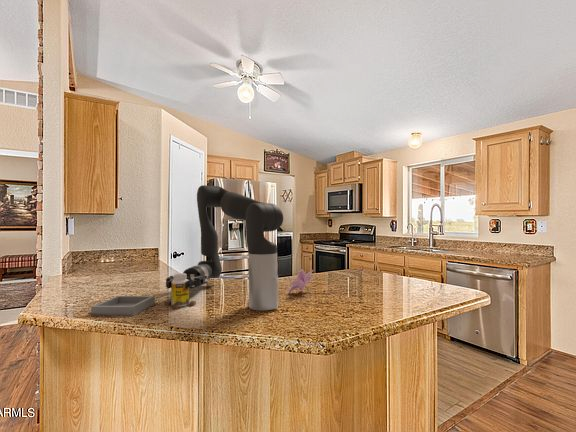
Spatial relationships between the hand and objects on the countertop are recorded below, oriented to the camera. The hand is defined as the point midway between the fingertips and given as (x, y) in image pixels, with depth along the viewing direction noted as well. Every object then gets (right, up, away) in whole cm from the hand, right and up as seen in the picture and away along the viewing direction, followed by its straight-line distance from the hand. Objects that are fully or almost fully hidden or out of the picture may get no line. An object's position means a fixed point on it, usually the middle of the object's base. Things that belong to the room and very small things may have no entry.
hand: (177, 285), depth 99 cm
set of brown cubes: (0, -7, +2) cm, 7 cm away
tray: (-16, -7, -2) cm, 18 cm away
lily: (+41, -7, +16) cm, 45 cm away
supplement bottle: (0, -7, +2) cm, 8 cm away
